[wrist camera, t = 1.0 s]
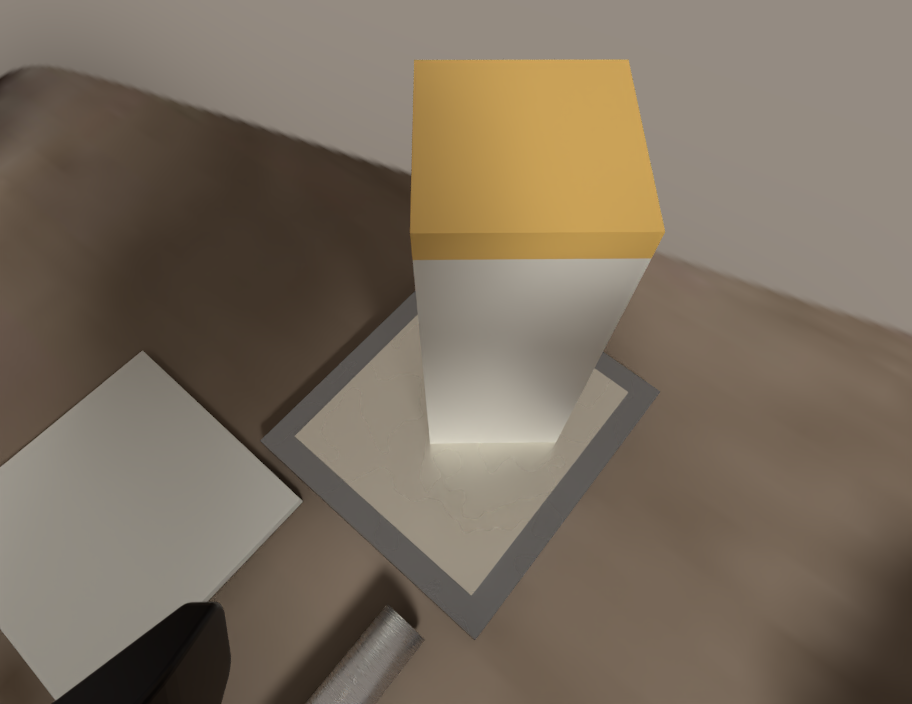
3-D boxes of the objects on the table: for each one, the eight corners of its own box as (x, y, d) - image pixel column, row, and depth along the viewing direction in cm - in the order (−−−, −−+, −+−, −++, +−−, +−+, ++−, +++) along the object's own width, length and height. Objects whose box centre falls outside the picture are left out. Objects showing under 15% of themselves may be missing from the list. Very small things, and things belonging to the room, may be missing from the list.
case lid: (86, 728, 18) (78, 730, 18) (-67, 532, 21) (-76, 529, 20) (303, 501, 21) (300, 499, 21) (147, 354, 24) (142, 350, 23)
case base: (474, 640, 19) (475, 639, 18) (266, 447, 22) (258, 438, 21) (653, 399, 23) (661, 389, 22) (456, 261, 26) (457, 247, 25)
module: (556, 442, 21) (664, 232, 10) (430, 443, 21) (409, 234, 10) (545, 331, 23) (628, 59, 12) (430, 332, 23) (414, 59, 12)
